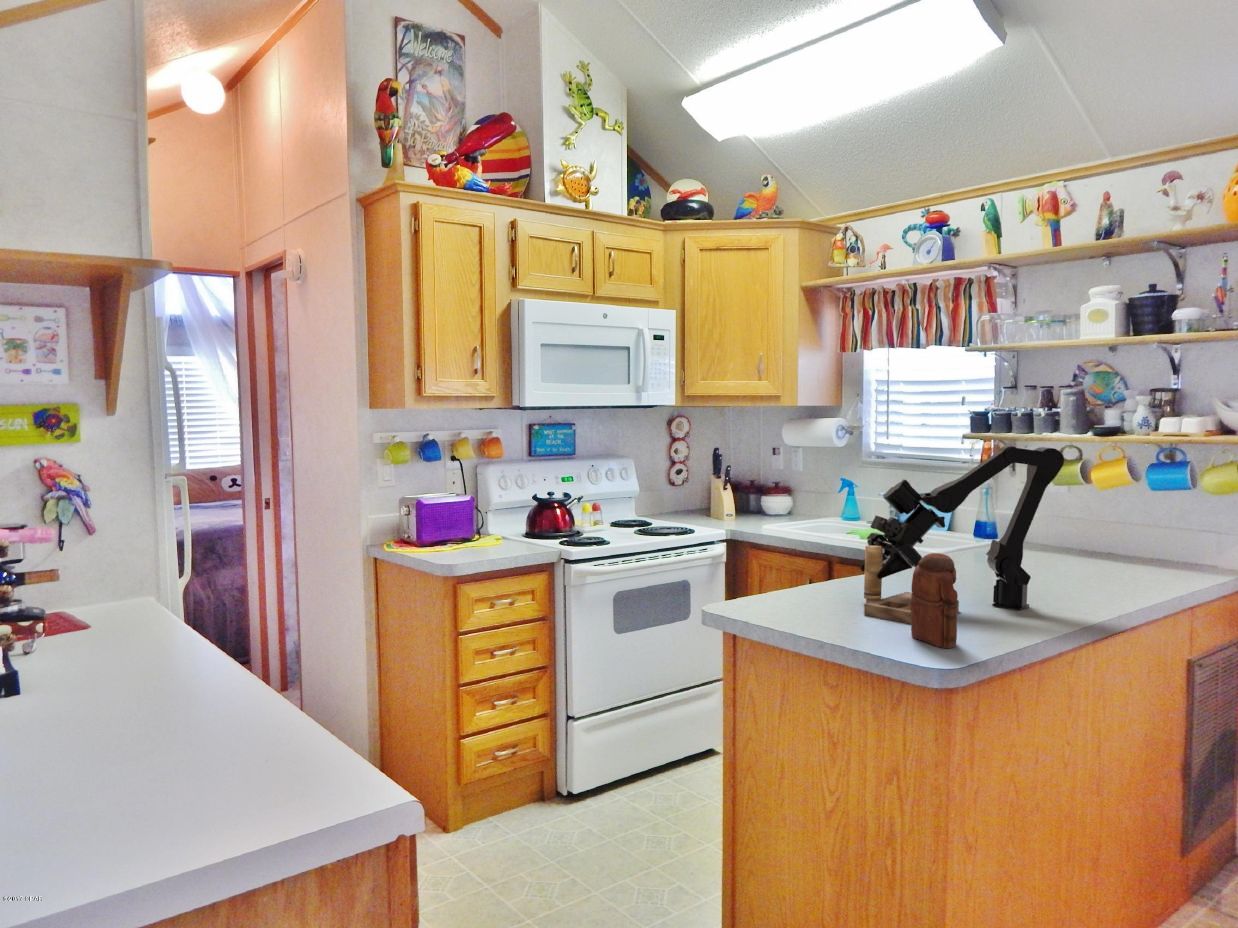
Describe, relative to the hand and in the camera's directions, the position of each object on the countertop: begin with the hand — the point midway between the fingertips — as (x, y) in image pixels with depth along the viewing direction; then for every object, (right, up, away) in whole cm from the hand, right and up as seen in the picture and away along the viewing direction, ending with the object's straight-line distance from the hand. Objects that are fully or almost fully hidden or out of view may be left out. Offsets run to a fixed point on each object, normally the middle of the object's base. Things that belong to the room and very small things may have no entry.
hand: (869, 573), depth 208 cm
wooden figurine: (+4, -10, -32) cm, 34 cm away
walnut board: (+8, -8, -8) cm, 14 cm away
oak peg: (+1, -7, +1) cm, 8 cm away
